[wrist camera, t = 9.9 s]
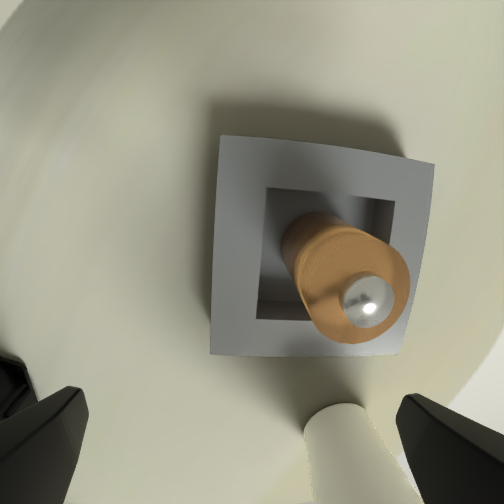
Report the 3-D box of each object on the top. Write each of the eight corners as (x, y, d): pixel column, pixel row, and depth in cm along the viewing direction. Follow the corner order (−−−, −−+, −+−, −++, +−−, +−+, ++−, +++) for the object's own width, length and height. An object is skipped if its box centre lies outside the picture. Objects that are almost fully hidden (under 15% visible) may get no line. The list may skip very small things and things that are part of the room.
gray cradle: (213, 328, 19) (210, 354, 17) (223, 140, 17) (220, 134, 14) (380, 331, 20) (398, 353, 17) (408, 163, 17) (434, 164, 14)
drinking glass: (298, 394, 21) (349, 591, 7) (384, 387, 21) (475, 544, 7) (287, 453, 23) (316, 612, 8) (363, 445, 23) (419, 584, 9)
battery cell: (277, 279, 18) (304, 356, 11) (284, 208, 17) (322, 240, 10) (344, 282, 19) (405, 352, 11) (353, 214, 18) (430, 249, 10)
